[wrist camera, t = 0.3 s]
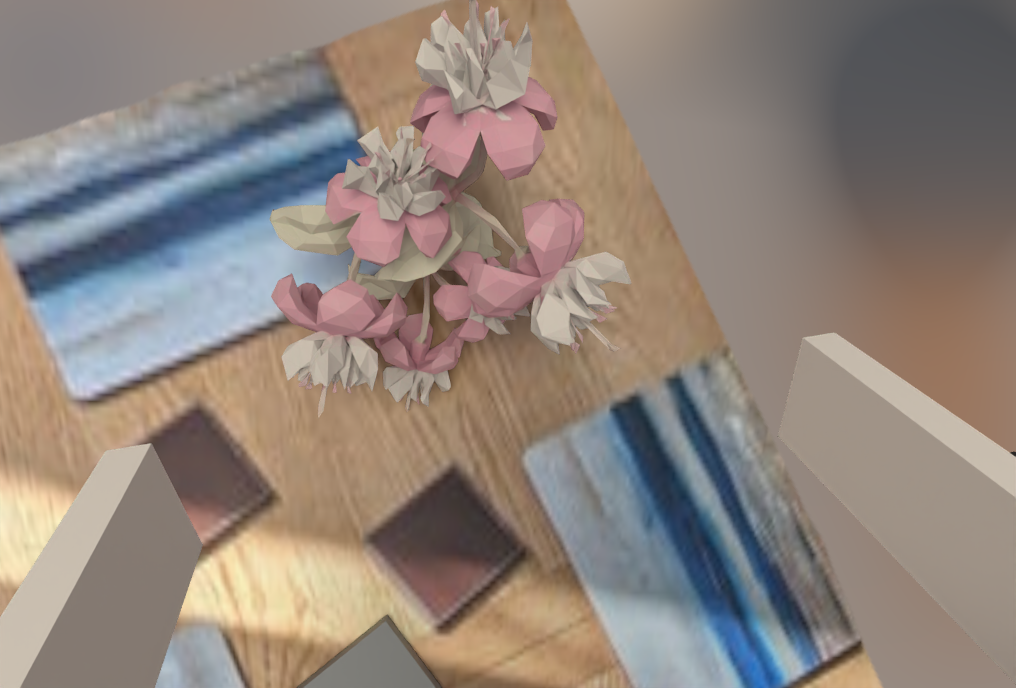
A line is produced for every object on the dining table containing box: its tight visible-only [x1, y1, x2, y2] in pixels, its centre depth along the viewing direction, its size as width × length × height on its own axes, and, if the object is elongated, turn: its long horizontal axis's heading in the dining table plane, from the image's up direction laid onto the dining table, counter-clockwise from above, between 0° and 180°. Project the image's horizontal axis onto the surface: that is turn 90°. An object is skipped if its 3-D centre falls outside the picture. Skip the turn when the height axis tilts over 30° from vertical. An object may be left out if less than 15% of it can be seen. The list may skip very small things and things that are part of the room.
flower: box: [269, 0, 631, 418], centre depth 38 cm, size 20×22×25 cm
